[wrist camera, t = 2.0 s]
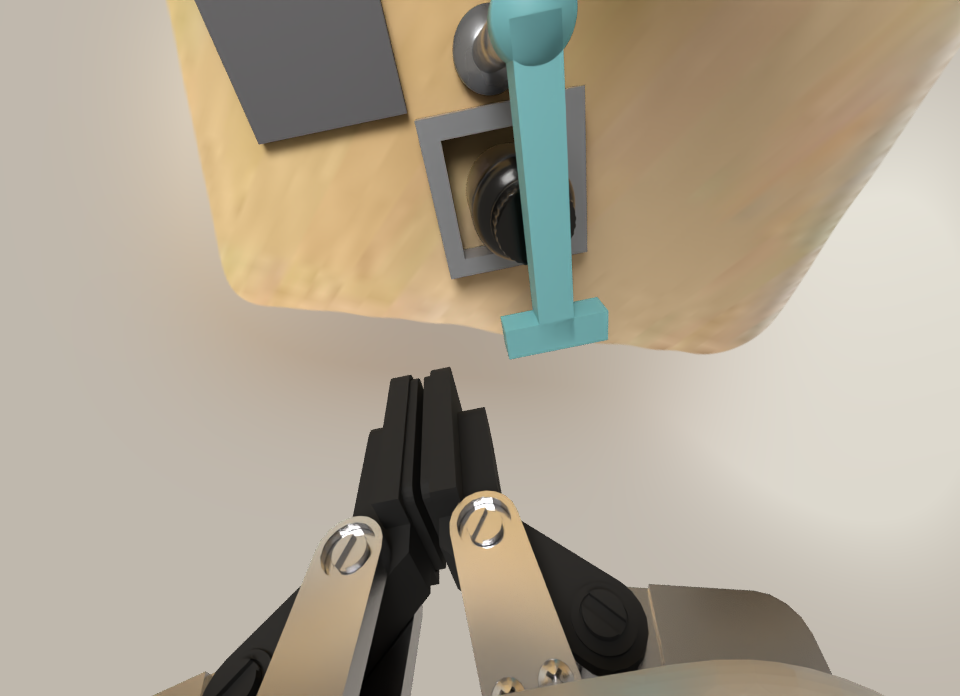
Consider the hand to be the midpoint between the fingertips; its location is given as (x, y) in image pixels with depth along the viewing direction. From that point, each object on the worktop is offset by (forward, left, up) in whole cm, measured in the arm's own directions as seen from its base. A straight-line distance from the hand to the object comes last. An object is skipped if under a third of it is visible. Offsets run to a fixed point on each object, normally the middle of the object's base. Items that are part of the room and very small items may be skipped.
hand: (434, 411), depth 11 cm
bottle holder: (0, +6, -25) cm, 26 cm away
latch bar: (-2, +6, -12) cm, 14 cm away
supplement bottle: (0, +6, -25) cm, 26 cm away
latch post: (-9, +6, -25) cm, 27 cm away
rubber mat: (-12, -6, -25) cm, 29 cm away
